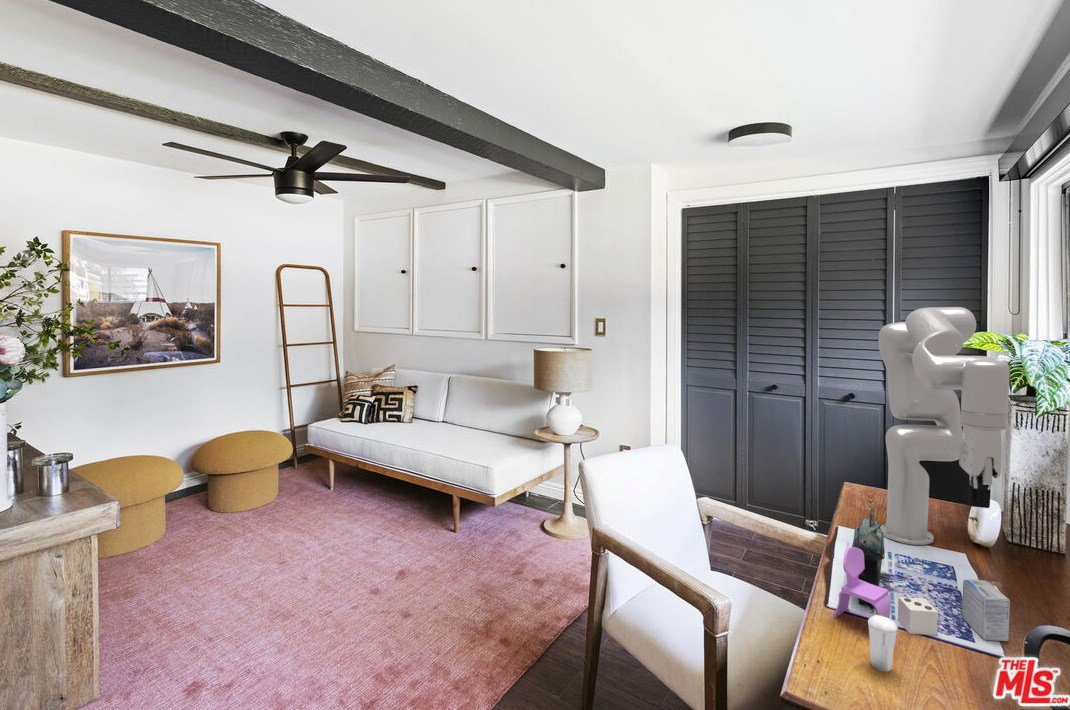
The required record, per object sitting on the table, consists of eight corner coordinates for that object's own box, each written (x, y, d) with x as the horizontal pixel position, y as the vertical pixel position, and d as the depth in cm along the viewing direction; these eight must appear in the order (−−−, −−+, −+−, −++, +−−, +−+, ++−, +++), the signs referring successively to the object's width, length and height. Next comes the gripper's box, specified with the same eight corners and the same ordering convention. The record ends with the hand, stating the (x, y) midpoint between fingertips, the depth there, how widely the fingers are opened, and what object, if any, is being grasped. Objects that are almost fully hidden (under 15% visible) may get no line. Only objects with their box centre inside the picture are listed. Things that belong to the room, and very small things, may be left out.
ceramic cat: (882, 613, 119) (886, 523, 117) (848, 605, 122) (850, 517, 120) (883, 574, 135) (886, 494, 133) (852, 568, 139) (855, 490, 137)
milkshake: (894, 680, 98) (896, 626, 97) (862, 664, 102) (863, 613, 101) (905, 669, 101) (907, 617, 100) (873, 655, 105) (874, 604, 104)
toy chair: (875, 639, 110) (878, 566, 109) (830, 619, 117) (832, 550, 116) (893, 624, 115) (896, 554, 113) (848, 606, 122) (850, 540, 120)
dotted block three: (897, 619, 116) (898, 596, 116) (923, 621, 116) (925, 597, 115) (909, 633, 112) (910, 609, 111) (937, 635, 111) (938, 611, 110)
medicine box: (1009, 642, 108) (1011, 600, 107) (982, 640, 109) (985, 598, 108) (985, 619, 116) (987, 579, 115) (960, 617, 116) (962, 578, 116)
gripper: (951, 412, 123) (947, 492, 125) (971, 425, 110) (967, 516, 111) (994, 414, 120) (989, 496, 122) (1019, 428, 107) (1014, 521, 108)
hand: (978, 505), depth 117 cm, fingers closed
